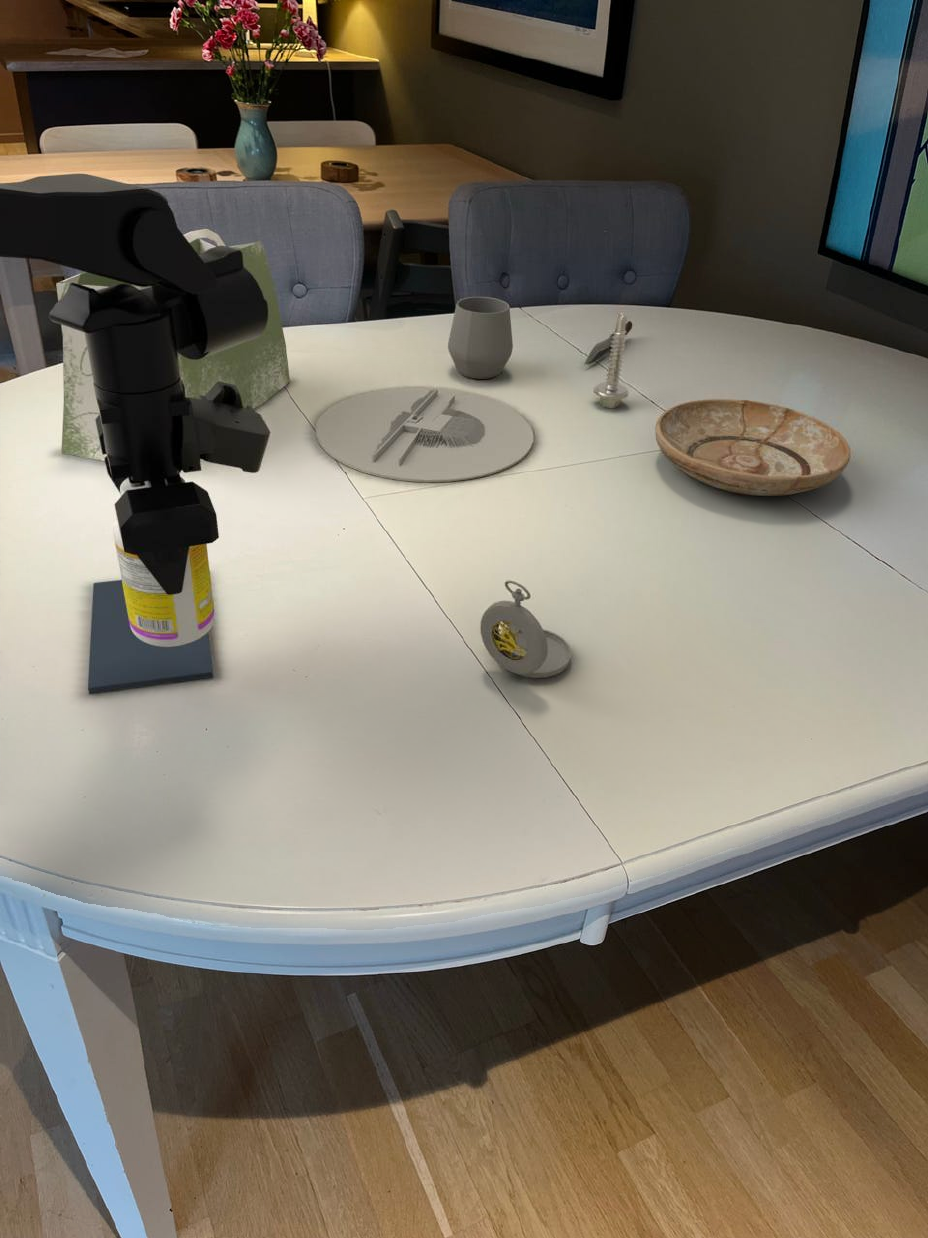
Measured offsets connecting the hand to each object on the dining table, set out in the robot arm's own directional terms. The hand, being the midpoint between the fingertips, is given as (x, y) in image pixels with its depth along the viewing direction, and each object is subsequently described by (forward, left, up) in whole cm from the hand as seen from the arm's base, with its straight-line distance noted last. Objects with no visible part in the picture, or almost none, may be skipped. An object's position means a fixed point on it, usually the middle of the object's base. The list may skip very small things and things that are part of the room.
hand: (167, 569), depth 75 cm
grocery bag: (+9, +54, -11) cm, 56 cm away
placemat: (-2, +8, -11) cm, 14 cm away
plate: (+37, +40, -11) cm, 56 cm away
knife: (+75, +59, -11) cm, 97 cm away
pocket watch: (+28, -8, -11) cm, 31 cm away
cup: (+52, +57, -11) cm, 78 cm away
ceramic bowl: (+71, +18, -11) cm, 74 cm away
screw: (+65, +41, -11) cm, 78 cm away
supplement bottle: (0, 0, -6) cm, 6 cm away
